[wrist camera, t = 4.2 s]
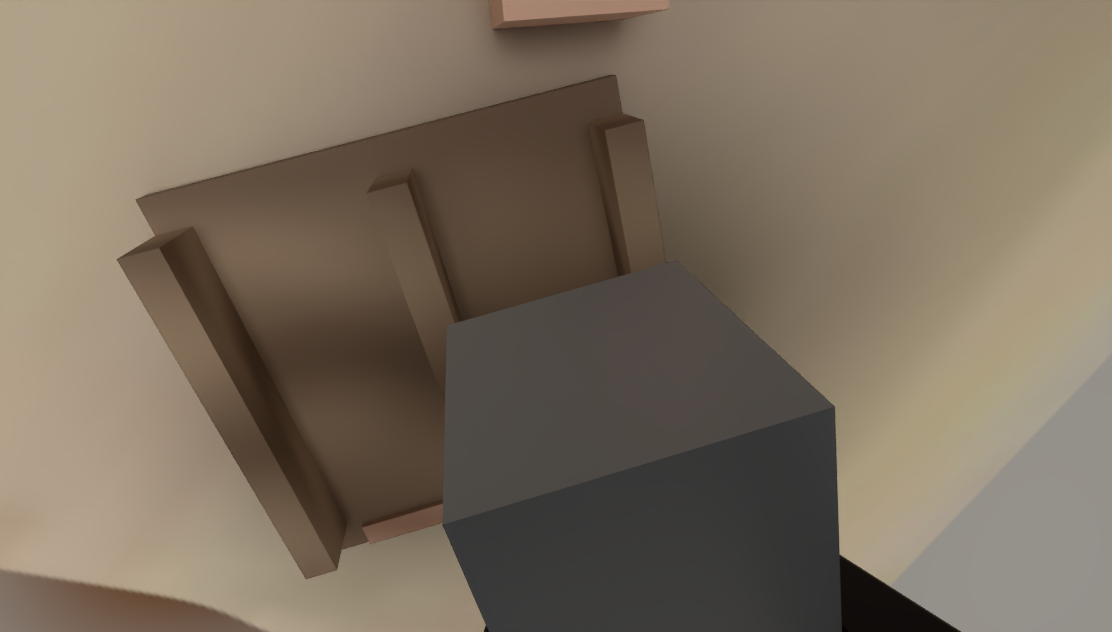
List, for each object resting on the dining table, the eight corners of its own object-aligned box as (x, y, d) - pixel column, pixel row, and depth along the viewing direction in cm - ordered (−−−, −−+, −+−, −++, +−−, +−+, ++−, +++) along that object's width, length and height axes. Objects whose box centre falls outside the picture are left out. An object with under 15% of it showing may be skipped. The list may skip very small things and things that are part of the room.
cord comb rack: (144, 195, 16) (92, 219, 13) (611, 74, 16) (636, 77, 14) (332, 542, 21) (318, 600, 19) (674, 441, 22) (700, 485, 20)
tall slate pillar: (446, 325, 9) (442, 525, 5) (675, 260, 9) (835, 406, 5) (579, 694, 12) (630, 957, 9) (735, 644, 13) (849, 882, 9)
